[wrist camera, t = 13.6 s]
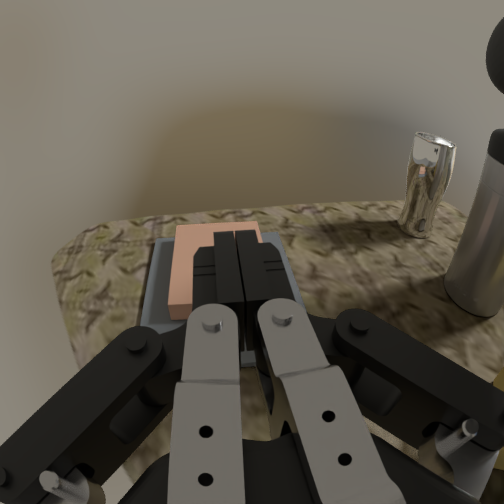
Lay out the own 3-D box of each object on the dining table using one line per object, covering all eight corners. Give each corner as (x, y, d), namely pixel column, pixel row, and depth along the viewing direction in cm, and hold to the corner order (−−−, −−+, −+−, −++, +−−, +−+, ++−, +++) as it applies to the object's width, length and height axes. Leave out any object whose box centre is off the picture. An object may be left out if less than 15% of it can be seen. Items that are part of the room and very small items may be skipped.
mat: (277, 235, 43) (277, 232, 42) (320, 358, 26) (321, 354, 26) (156, 242, 41) (156, 238, 40) (136, 371, 24) (134, 367, 24)
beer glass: (412, 215, 50) (431, 132, 41) (441, 235, 44) (466, 147, 36) (385, 220, 47) (404, 130, 39) (415, 243, 42) (442, 146, 33)
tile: (276, 314, 30) (256, 235, 41) (278, 297, 29) (256, 221, 40) (171, 321, 29) (178, 240, 40) (167, 304, 28) (176, 225, 39)
